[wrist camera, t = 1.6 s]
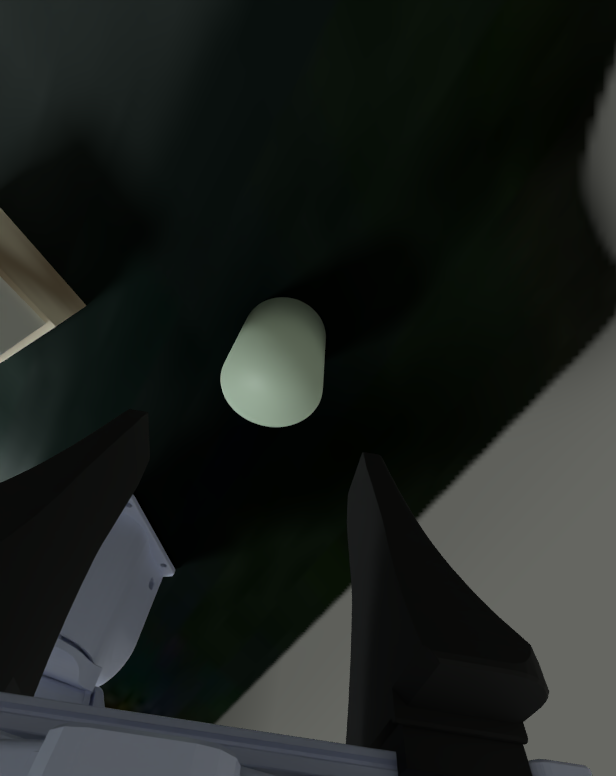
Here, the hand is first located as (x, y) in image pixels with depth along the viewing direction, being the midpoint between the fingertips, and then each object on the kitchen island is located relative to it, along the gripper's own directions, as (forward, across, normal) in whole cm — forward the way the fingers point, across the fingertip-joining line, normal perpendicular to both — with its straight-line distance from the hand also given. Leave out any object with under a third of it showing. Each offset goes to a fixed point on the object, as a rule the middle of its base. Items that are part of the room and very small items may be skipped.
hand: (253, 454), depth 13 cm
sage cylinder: (+9, 0, 0) cm, 9 cm away
